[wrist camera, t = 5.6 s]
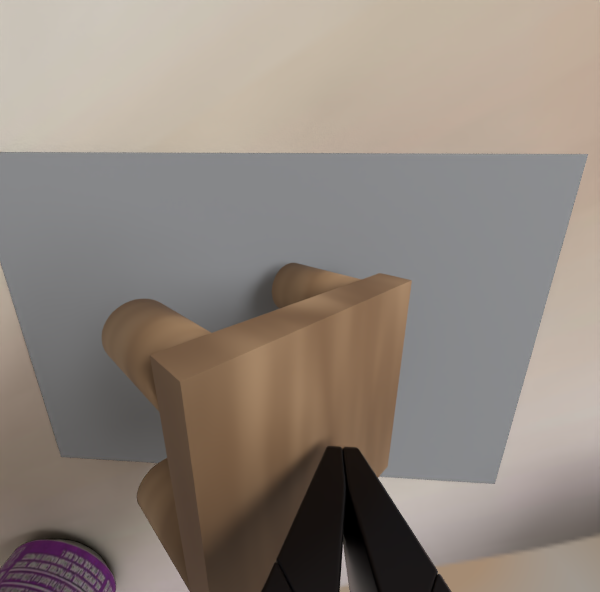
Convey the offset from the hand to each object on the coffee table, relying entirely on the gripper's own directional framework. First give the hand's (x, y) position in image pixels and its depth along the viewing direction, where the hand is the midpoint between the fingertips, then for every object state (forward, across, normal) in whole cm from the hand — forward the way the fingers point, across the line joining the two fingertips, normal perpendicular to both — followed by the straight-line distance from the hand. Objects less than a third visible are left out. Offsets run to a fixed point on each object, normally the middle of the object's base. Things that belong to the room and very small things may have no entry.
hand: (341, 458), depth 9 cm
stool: (+5, -1, 0) cm, 5 cm away
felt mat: (+7, +3, 0) cm, 8 cm away
